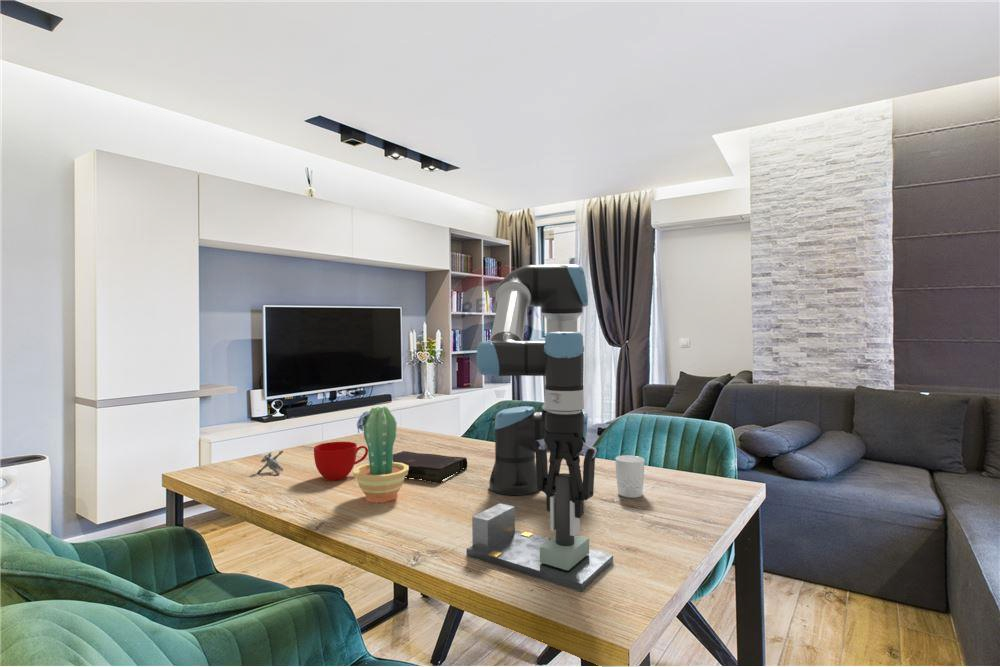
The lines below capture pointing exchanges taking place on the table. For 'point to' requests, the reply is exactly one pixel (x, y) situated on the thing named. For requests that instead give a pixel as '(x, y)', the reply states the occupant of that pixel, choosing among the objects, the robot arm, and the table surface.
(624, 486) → the white cup
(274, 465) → the grey figurine
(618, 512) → the table surface
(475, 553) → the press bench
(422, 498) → the table surface
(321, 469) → the ceramic cup
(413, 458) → the diary
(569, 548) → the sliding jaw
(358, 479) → the potted cactus
